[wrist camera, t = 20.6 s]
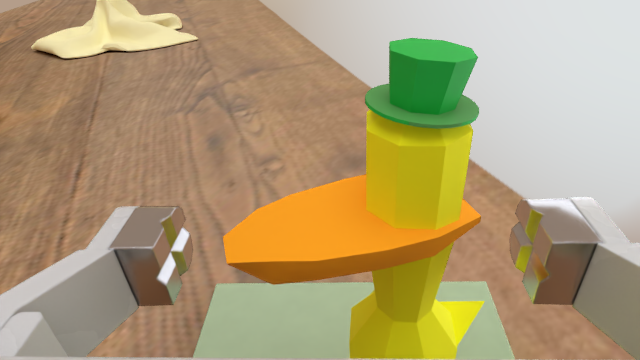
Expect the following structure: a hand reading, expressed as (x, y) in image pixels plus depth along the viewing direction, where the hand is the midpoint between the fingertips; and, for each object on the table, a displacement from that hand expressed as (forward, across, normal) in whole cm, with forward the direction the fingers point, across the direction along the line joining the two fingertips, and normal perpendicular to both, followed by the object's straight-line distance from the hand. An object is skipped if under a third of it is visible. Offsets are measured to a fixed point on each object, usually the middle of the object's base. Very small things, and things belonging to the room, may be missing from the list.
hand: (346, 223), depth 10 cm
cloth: (+52, +31, +8) cm, 61 cm away
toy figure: (-1, -1, +8) cm, 8 cm away
